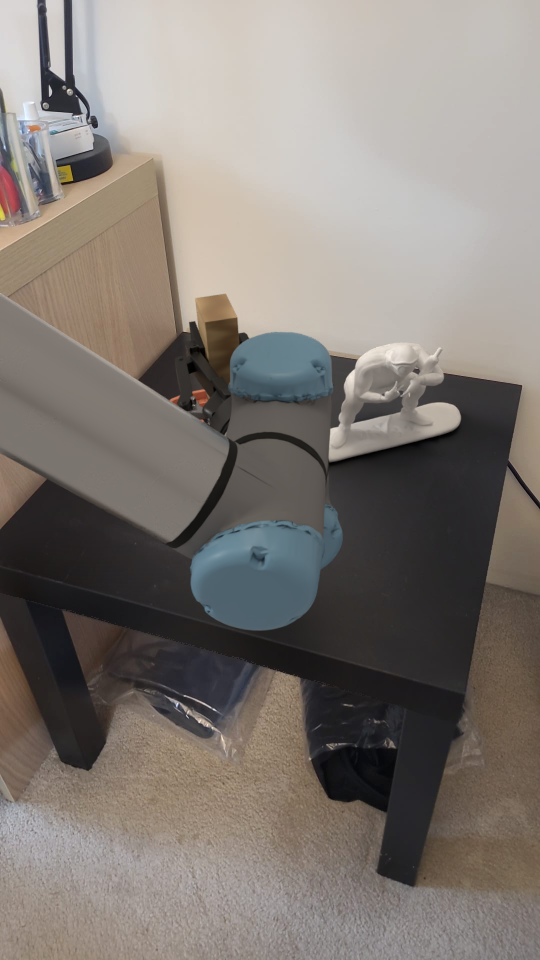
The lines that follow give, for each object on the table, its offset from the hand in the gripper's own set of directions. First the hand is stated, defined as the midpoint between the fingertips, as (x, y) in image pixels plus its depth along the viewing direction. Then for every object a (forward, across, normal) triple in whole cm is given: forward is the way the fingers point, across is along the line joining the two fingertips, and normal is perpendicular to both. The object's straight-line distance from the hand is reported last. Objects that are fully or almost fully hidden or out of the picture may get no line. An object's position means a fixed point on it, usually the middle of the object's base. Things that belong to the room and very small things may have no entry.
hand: (210, 329), depth 83 cm
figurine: (-5, +21, -18) cm, 28 cm away
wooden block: (-5, 0, -8) cm, 9 cm away
